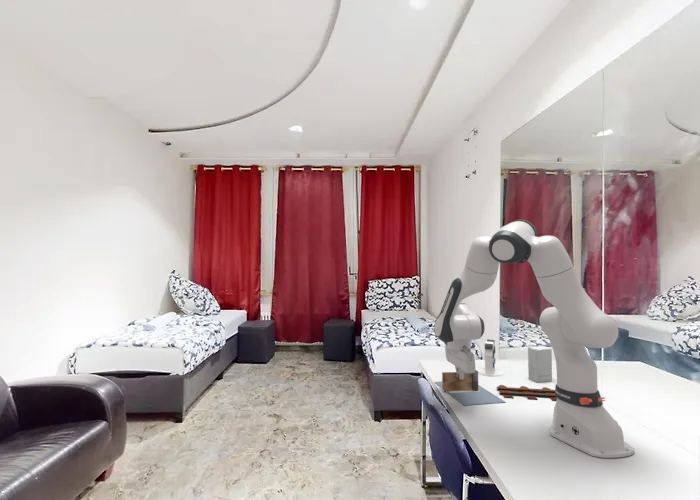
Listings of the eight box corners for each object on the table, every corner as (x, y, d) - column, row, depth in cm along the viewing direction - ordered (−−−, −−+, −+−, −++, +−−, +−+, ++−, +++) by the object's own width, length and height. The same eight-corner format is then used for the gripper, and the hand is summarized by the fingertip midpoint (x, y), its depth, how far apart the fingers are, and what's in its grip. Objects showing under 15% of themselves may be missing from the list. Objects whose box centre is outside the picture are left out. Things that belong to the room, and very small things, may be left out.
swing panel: (443, 390, 160) (442, 373, 160) (442, 389, 161) (442, 372, 161) (472, 390, 160) (471, 372, 160) (471, 389, 161) (470, 372, 162)
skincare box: (543, 377, 179) (543, 345, 179) (553, 381, 173) (552, 348, 174) (527, 379, 177) (527, 346, 178) (536, 383, 171) (536, 349, 172)
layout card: (505, 402, 148) (505, 401, 148) (464, 405, 145) (464, 404, 145) (470, 380, 175) (470, 379, 175) (434, 382, 172) (434, 381, 172)
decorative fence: (565, 403, 149) (552, 390, 164) (564, 398, 149) (552, 386, 164) (501, 399, 153) (494, 387, 168) (501, 395, 153) (494, 383, 168)
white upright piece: (501, 377, 179) (501, 345, 180) (475, 374, 184) (475, 342, 184) (503, 371, 190) (502, 340, 190) (479, 368, 195) (478, 338, 195)
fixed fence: (479, 391, 160) (479, 371, 160) (473, 391, 159) (473, 372, 160) (462, 380, 174) (462, 362, 174) (457, 380, 174) (457, 362, 174)
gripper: (479, 348, 146) (480, 386, 146) (456, 338, 166) (457, 370, 166) (463, 349, 145) (464, 387, 145) (442, 338, 165) (443, 371, 165)
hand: (460, 378), depth 155 cm, fingers closed
